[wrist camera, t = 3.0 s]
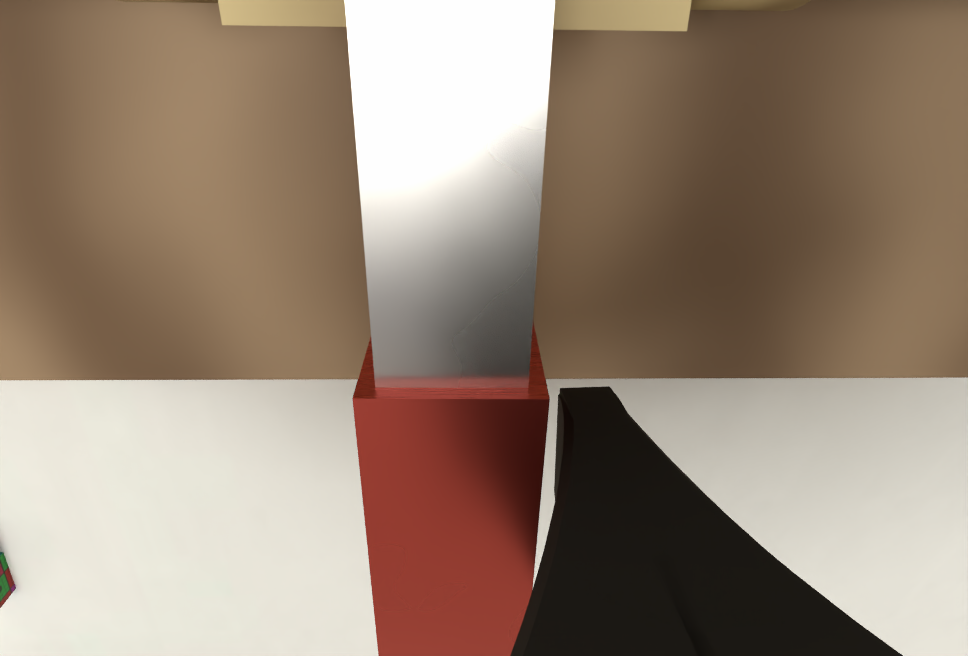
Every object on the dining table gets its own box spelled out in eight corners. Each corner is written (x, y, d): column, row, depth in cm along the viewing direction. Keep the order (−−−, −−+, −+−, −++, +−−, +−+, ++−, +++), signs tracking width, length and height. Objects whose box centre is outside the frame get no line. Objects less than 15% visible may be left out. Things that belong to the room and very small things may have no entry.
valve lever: (294, -479, 4) (192, -765, 3) (610, -462, 5) (691, -732, 3) (384, 576, 10) (367, 689, 8) (525, 575, 10) (537, 688, 8)
